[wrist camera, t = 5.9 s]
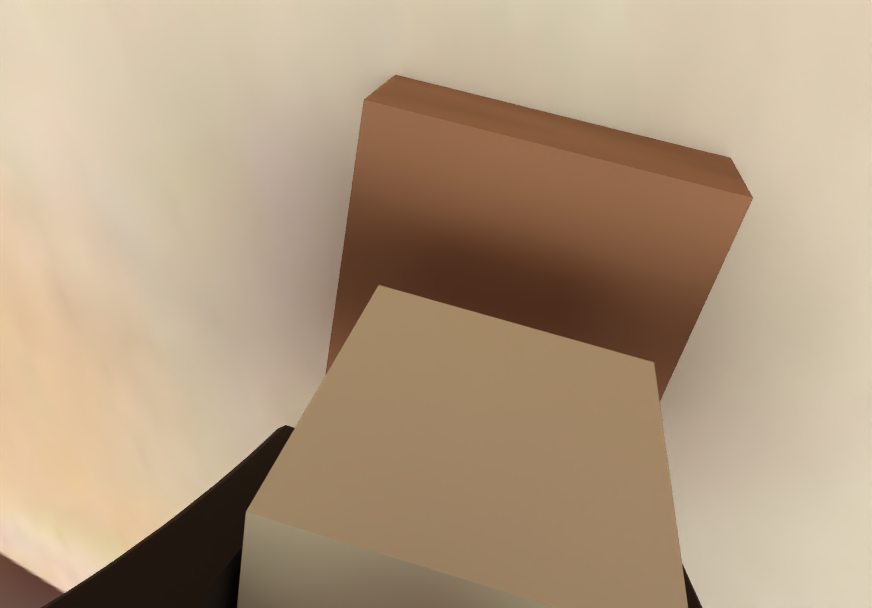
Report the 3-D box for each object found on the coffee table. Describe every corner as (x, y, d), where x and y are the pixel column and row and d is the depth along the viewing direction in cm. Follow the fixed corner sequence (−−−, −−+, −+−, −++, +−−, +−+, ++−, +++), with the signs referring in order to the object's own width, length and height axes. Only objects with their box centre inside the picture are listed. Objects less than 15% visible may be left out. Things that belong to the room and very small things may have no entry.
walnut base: (617, 414, 20) (620, 486, 18) (355, 341, 21) (321, 400, 18) (728, 153, 16) (753, 198, 14) (399, 71, 17) (363, 99, 14)
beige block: (568, 552, 13) (557, 858, 9) (341, 483, 14) (223, 747, 9) (653, 362, 11) (693, 649, 7) (378, 285, 11) (245, 511, 7)
